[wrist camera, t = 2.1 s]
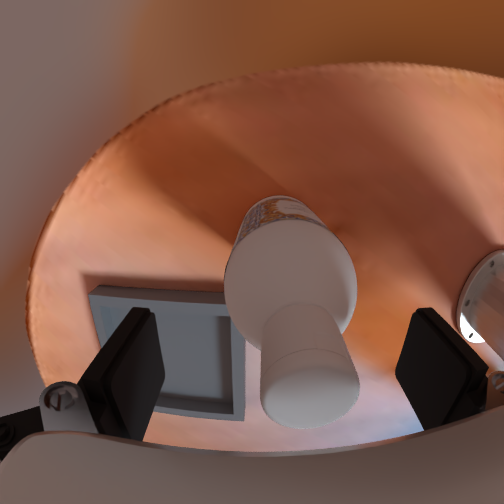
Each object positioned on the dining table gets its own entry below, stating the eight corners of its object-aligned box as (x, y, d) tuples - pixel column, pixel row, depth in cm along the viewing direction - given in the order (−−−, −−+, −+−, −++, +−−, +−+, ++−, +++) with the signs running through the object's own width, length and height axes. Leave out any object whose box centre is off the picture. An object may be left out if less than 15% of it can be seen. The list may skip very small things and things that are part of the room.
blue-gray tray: (245, 293, 28) (243, 305, 26) (245, 406, 33) (244, 421, 31) (99, 285, 29) (88, 294, 26) (126, 392, 34) (120, 404, 31)
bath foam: (330, 214, 26) (463, 338, 7) (296, 280, 28) (339, 471, 9) (260, 181, 25) (249, 241, 6) (228, 251, 27) (163, 428, 8)
